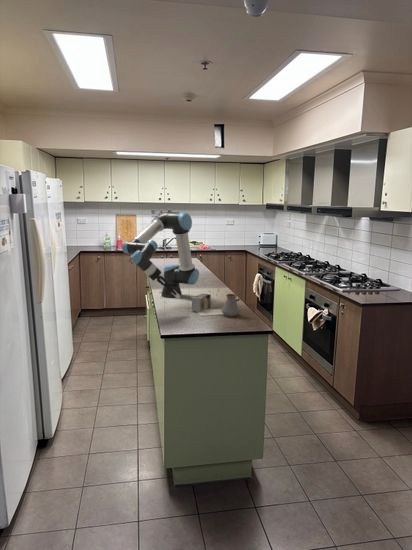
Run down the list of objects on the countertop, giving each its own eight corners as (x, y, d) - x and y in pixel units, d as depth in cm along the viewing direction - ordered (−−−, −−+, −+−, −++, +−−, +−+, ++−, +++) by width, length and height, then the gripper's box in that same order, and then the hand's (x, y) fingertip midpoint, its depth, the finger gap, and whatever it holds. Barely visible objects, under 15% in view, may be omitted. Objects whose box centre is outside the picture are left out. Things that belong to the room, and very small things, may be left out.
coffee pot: (219, 312, 255) (220, 289, 251) (236, 311, 258) (237, 289, 254) (228, 323, 235) (230, 299, 231) (246, 323, 238) (248, 299, 234)
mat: (195, 310, 258) (195, 310, 258) (221, 309, 264) (221, 308, 264) (201, 316, 247) (201, 315, 247) (228, 314, 253) (228, 313, 253)
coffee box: (200, 298, 252) (210, 293, 266) (191, 297, 255) (202, 293, 269) (200, 312, 253) (210, 307, 268) (191, 311, 256) (202, 306, 270)
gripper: (146, 274, 244) (172, 299, 252) (150, 278, 231) (177, 304, 240) (154, 265, 244) (180, 290, 253) (159, 269, 232) (186, 295, 241)
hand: (178, 297), depth 246 cm, fingers closed
